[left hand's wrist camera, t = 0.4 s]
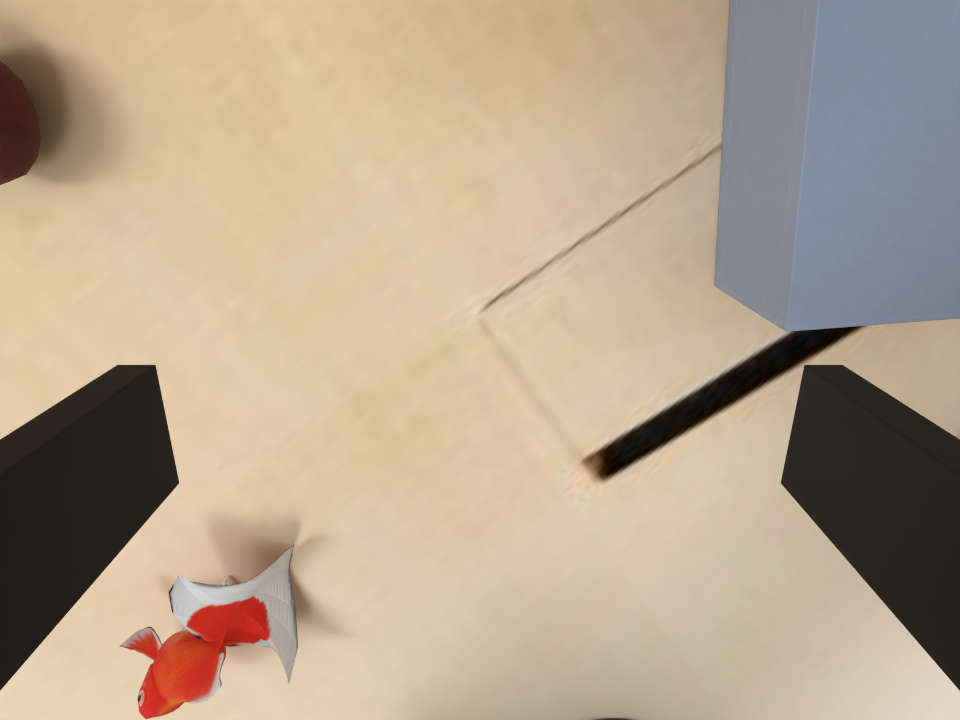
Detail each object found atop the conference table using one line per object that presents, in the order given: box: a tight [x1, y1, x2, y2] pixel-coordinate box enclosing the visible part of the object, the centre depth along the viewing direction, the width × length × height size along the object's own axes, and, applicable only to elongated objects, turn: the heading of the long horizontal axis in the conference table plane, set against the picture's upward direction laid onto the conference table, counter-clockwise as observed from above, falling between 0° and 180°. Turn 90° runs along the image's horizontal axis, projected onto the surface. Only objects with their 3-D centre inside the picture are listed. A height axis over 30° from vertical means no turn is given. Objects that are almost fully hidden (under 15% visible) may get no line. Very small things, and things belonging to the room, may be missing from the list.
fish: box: [119, 545, 298, 719], centre depth 44 cm, size 11×16×10 cm
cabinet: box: [715, 0, 960, 331], centre depth 31 cm, size 20×11×10 cm, turn 5°
